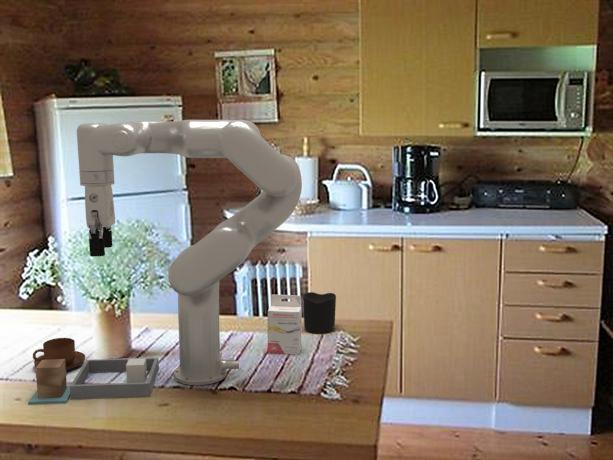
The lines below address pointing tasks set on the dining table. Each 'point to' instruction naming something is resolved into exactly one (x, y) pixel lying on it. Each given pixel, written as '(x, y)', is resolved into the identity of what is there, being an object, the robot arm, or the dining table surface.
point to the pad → (63, 399)
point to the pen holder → (319, 312)
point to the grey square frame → (112, 389)
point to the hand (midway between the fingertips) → (101, 251)
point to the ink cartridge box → (284, 324)
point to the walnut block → (51, 378)
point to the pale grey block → (136, 370)
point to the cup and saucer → (60, 352)
